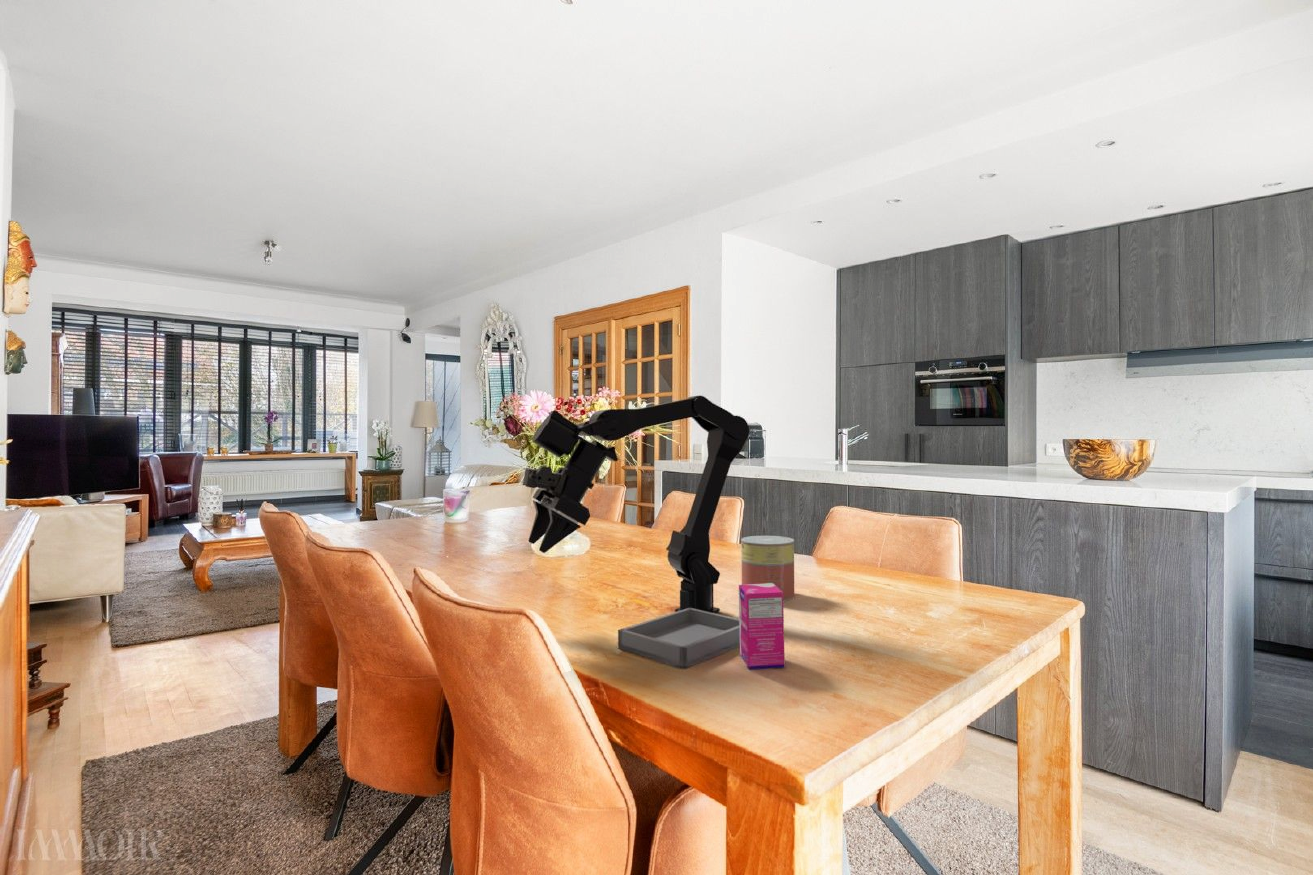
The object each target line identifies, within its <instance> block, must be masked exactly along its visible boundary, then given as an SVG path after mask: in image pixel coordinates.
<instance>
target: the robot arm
mask: <svg viewBox="0 0 1313 875" xmlns="http://www.w3.org/2000/svg"><path fill="white" fill-rule="evenodd" d="M689 418H692V419H693V421H694V422H696V424H697V425H699V427H701V428H702V429H703V430H704V431H706V432H707V438H706V445H707V446H706V448H707V458H706V462H705V465H704V468H703V470H702V475H701V477H700V480H699V484H698V486H697V489H696V491H695V492H696V493H695V495H694V498H693V502H692V506H691V508H690V512H689V514H688V517H687V520H686V523H685V525H684V526H683V528H681V530H680V531H677V530H675V529H674V530H672V532H671V537H670V542H669V543H668V546H667V547H666V548H665V550H666V551H667V561H668V563H669V564H670V566H671V567H672V569H675V574H676V575H677V577H679V578H681V579H682V580H681V581H680V590H679V607H677V608H675V609H674V612H677V611H680V610H684V609H687V608H693V609H698V610H702V611H706V612H711V613H715V614H716V613H718V612H720V610H721V609H720V608H719V607H715V606H714V585H717V584H718V582H719V578H720V576H721V573H720V571H719V570H718V569H716V568H715V566H714V565H712V563H711V562H710V561H709V558H710V553H711V552H710V551H711V543H710V542H711V541H710V531H711V530H710V529H711V526H712V524H713V521H714V518H715V513H716V511H717V508H718V506H719V503H720V502H719V501H720V499H721V496H722V492H723V489H724V486H725V483H726V480H727V477H728V474H729V470H730V467H731V465H732V463H733V462H734V460H735V459H736V458H737V457H738V455H739V454H740V453H742V451H743V449H744V446H745V444H746V443H747V440H748V439H749V436H750V433H751V428H750V426H749V424H748V421H747V420H746V419H745V418H744V417H742V416H741V415H734V414H733V413H732V412H730V411H728V410H726V409H725V408H723V407H721V406H719V405H717V404H716V403H713V402H712V401H711V400H710V399H708V398H707V397H706V396H704V395H693V396H688V397H686V398H684V399H679V400H675V401H669V402H664V403H660V404H655V405H651V406H645V407H640V408H615V409H614V408H609V409H603V410H602V409H600V410H598V411H595V412H594V413H592V415H591V416H589V420H586V421H584V422H580V423H578V424H576V423H574V422H573V421H571V420H569V419H567V418H566V417H564V416H563V414H561V413H560V412H558V411H557V410H551V411H550V413H549V414H548V415H547V417H546V418H545V419H544V421H543V422H542V423H541V424H539V426H538V427H537V428H536V430H535V432H534V434H533V436H532V440H531V442H533V443H534V444H535V445H537V446H539V447H540V448H541V449H544V450H545V451H547V452H549V453H551V454H552V455H554V456H555V457H557V458H561V457H562V456H563V455H565V456H566V457H567V456H569V455H570V457H569V458H568V460H567V462H566V464H565V465H564V467H563V466H561V467H558V468H557V469H556V471H555V472H553V470H552V467H551V466H544V465H540V466H539V468H537V469H535V468H530V467H525V469H524V470H525V471H524V475H523V481H522V486H525V487H527V488H532V489H535V488H536V491H535V492H534V494H533V496H532V498H533V499H535V500H536V501H535V500H532V502H533V505H534V508H535V512H536V513H535V515H534V516H535V517H534V521H533V524H532V527H531V531H530V533H529V537H528V542H529V543H530V544H533V545H535V543H536V542H538V541H539V540H540V539H541V538H542V537H543V538H542V541H541V543H540V546H539V549H538V551H540V552H541V553H543V554H545V553H547V552H548V551H549V550H550V549H552V548H553V547H555V546H556V545H557V544H559V543H561V541H563V540H564V539H565V538H567V537H568V536H570V535H571V534H572V533H574V532H575V531H577V530H578V529H580V528H582V526H586V525H587V523H588V522H589V519H590V518H591V513H590V510H589V508H587V507H586V506H585V505H584V504H583V503H581V502H582V500H583V498H584V497H585V495H586V493H587V491H588V490H589V489H590V490H592V489H593V488H594V485H595V484H594V483H593V481H594V479H595V478H596V476H597V474H598V473H599V470H600V469H601V467H602V466H603V464H604V462H605V460H609V461H611V462H617V461H619V458H618V456H617V455H618V454H617V453H616V447H615V446H611V445H610V446H606V445H604V444H603V443H602V442H603V441H605V442H612V441H619V440H620V439H623V438H625V437H627V436H629V435H632V434H634V433H636V432H638V431H640V430H642V429H644V428H648V427H649V428H650V427H652V426H658V425H662V424H665V423H671V422H675V421H681V420H685V419H689ZM582 436H583V437H584V436H585V437H590V436H591V437H593V438H594V440H592V441H588V440H587V439H585V438H583V437H582ZM597 440H598V441H597ZM599 441H602V442H599ZM580 524H581V525H582V526H581V525H580Z"/></svg>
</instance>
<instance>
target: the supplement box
mask: <svg viewBox="0 0 1313 875" xmlns="http://www.w3.org/2000/svg"><path fill="white" fill-rule="evenodd" d="M738 619H739V629H740V646H739V656H740V658H741V660H742V661H743V662H744V664H745V666H746V667H747V669H748V670H769V669H770V670H771V669H772V670H773V669H785V667H786V664H785V663H786V660H785V654H786V653H785V628H784V627H785V624H784V623H785V622H784V621H785V620H784V619H785V617H784V602H783V592H782V591H781V590H780V589H779V588H778V587H776V586H775V585H774V584H773V583H765V584H746V585H742V584H738Z"/></svg>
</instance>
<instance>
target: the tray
mask: <svg viewBox="0 0 1313 875" xmlns="http://www.w3.org/2000/svg"><path fill="white" fill-rule="evenodd" d="M617 640H618V641H617V646H618V649H619V650H623V651H625V652H629V653H632V654H634V655H639V656H641V657H645V658H647V659H651V660H653V661H657V662H660V663H662V664H667V665H669V666H673V667H676V668H679V669H682V670H685V669H687V668H691V667H692V666H695V665H697V664H700V663H702V662H704V661H706V660H709V659H711V658H714V657H716V656H718V655H721V654H724V653H726V652H729V651H730V650H733V649H736V648H739V647H740V629H739V618H735V617H732V616H728V615H724V614H718V613H716V612H715V613H711V612H706V611H702V610H698V609H693V608H687V609H684V610H680V611H677V612H675V611H674V612H671V613H668V614H665V615H662V616H659V617H655V618H652V619H649V620H646V621H642V622H639V623H635V624H632V625H630V626H626V627H623V628H619V629H617Z"/></svg>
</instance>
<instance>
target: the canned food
mask: <svg viewBox="0 0 1313 875" xmlns="http://www.w3.org/2000/svg"><path fill="white" fill-rule="evenodd" d="M740 541H741V543H740V544H741V548H740V549H741V550H740V551H741V554H740V555H741V560H740V561H741V585H746V584H765V583H773V584H774V585H775V586H776V587H778V588H779V589H780V590H781V591H782V592H783V603H784V602H788V601H792V600H794V599H795V597H796V596H795V595H796V594H795V539H794V538H792V537H788V536H782V535H765V534H764V535H760V534H759V535H750V536H744V537H741V539H740Z"/></svg>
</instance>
